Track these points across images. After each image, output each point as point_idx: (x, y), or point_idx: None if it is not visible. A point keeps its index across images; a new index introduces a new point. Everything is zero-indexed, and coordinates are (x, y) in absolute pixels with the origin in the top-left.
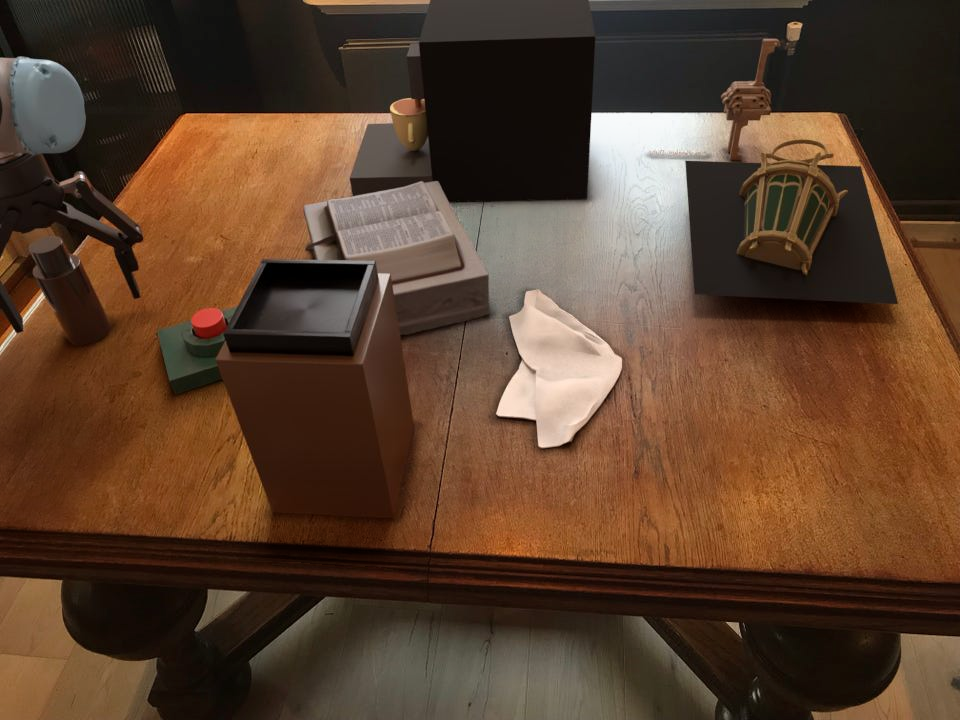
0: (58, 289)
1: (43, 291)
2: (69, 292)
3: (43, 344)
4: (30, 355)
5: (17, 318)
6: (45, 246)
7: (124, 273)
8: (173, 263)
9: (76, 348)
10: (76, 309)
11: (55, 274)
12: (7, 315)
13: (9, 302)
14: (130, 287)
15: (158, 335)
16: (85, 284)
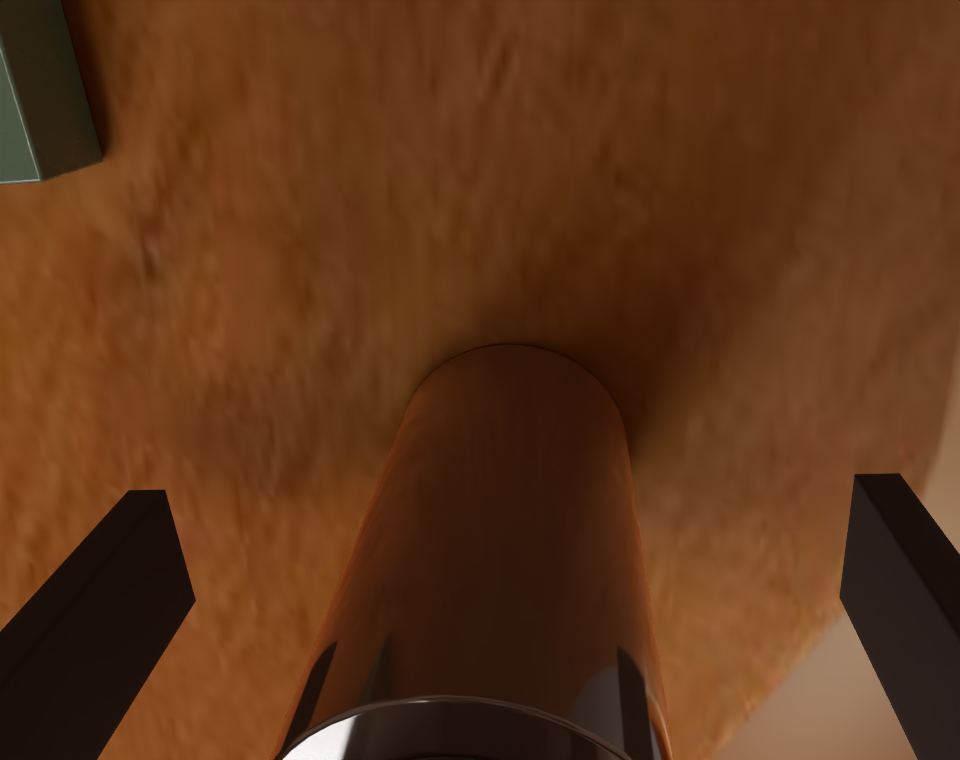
0: (499, 604)
1: (643, 656)
2: (436, 566)
3: (754, 447)
4: (832, 384)
5: (880, 560)
6: None
7: (38, 625)
8: (139, 755)
9: (585, 336)
10: (467, 469)
11: (467, 754)
12: (958, 569)
13: (926, 678)
14: (113, 545)
15: (20, 116)
16: (323, 621)
